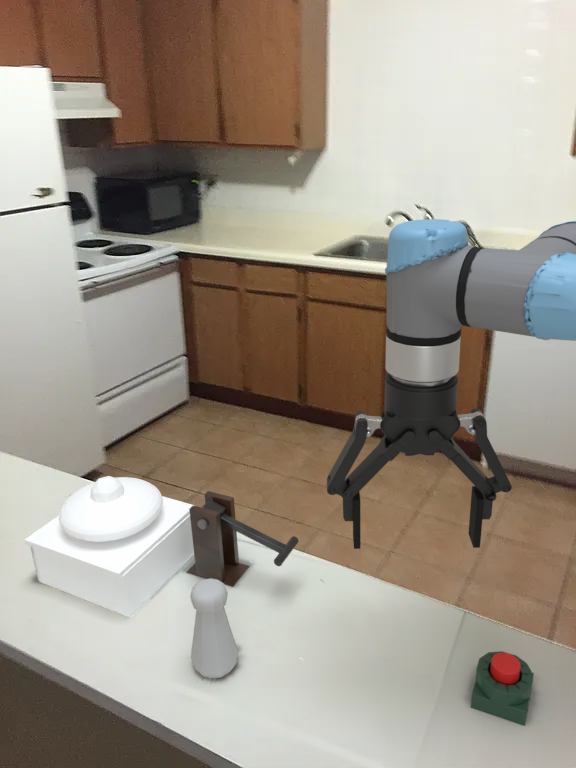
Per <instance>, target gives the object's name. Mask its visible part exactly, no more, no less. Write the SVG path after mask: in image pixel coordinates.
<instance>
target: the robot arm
mask: <svg viewBox="0 0 576 768" xmlns="http://www.w3.org/2000/svg"><path fill="white" fill-rule="evenodd" d="M387 242H388V244H387V255H386V267H385V269H384V273H385V275H386V325H385V359H384V360H385V364H384V365H385V366H384V369H385V371H386V374H385V375H384V407H383V408H384V409H383V412H382V414H381V415H380V416H378V415H376V416H375V415H367V413H366V412H365V410H364V411H363V410H358V411H357V412H356V413H355V415H354V424H353V430H352V431H351V433H350V435H349V437H348V439H347V440H346V442H345V444H344V446H343V447H342V449H341V451H340V452H339V455H338V456H337V458H336V461H335V462H334V464H333V466H332V468H331V469H330V471H329V473H328V475H327V477H326V492H327V494H328V495H330V496H336V495H338V496H340V497H341V498H342V519H343V520H344V522H352V540H353V549H354V550H357V549H358V550H361V494H360V493H361V490H362V489H363V488H364V487H366V485H367V484H368V483H369V482H370V481H371V480H372V479H373V478H375V476H376V475H377V474H378V473H379V472H380V471H381V470H382V469H383V468H384V467H385V466H386V465H387V464H388V463H389V462H392V461H394V460H395V459H396V457H397V456H398V455H400V453H401V454H404V456H405V457H413V456H417V455H423V456H435V454H437V453H439V452H441V453H443V455H444V456H445V457H446V459H448V460H449V461H451V462H452V463H453V464H454V465H455V466H456V467H457V468H458V469H459V471H460V472H461V473H462V474H463V475H464V476H465V477H466V478H467V479H468V480H469V482H471V483H472V484H473V485H472V486H471V493H470V494H471V496H470V508H469V522H468V536H469V540H470V542H471V545H472V548H474V549H480V548H481V542H482V541H481V540H482V530H483V520H490V519H491V518H492V516H493V515H492V513H493V503H494V501H496V499H497V494H498V493H500V492H503V493H509V492H511V491H512V488H513V486H512V484H511V482H510V479H509V477H508V476H507V473H506V472H505V469H504V468H503V466H502V464H501V461H500V459H499V458H498V456H497V453H496V451H495V449H494V447H493V445H492V443H491V441H490V439H489V436H488V424H487V419H486V418H485V416H484V414H483V412H482V410H481V409H480V408H478V407H477V408H476V407H475V408H473V409H472V410H470V412H469V413H462V414H458V412H457V407H458V406H457V405H458V404H457V403H458V389H459V377H458V376H457V374H458V373H459V370H460V355H461V338H462V337H461V336H462V326H463V327H468V328H475V329H476V328H477V329H482V330H489V331H493V332H494V331H496V332H501V333H508V334H514V335H520V336H527V337H534V338H536V339H537V340H538V339H539V340H544V341H551V340H557V341H568V342H569V341H572V342H576V220H571V221H566V222H562V223H558V224H554V225H552V226H550V227H549V228H548V229H546V230H543V232H542V233H540V235H539V236H537V237H536V238H534V239H533V240H531V241H530V242H529V243H528V244H526V245H525V246H523V247H522V248H520V249H503V248H487V247H480V246H479V247H478V246H477V245H469V242H470V241H469V239H468V230H467V227H466V225H464V224H463V223H462V222H460V221H455V220H449V219H440V218H425V219H424V218H423V219H413V220H406V221H403V222H401V223H398V224H396V225H395V226H394V227H393V228H392V229H391V230H390V232H389V235H388V241H387ZM460 428H464V429H465V431H466V433H467V434H469V435H472V436H474V438H475V440H476V443H477V445H478V447H479V449H480V451H481V453H482V455H483V457H484V459H485V460H486V464H487V465H488V467H489V469H490V471H491V473H492V475H493V476H491V477H488V476H487V475H486V474H485V473H484V472H483V470H481V468H479V466H478V465H477V464H476V463H475V462H474V461H473V460H472V459H471V458H470V457H469V455H467V454H466V452H465V451H464V450H463V449H462V448H461V447H460V446H459V445H458V444H457V442H456V441H455V440H454V438H453V437H454V436H455V435H456V433H457V432H458V431H459V430H460ZM378 429H379V430H381V432H382V433H383V434H384V436H383V437H382V438H381V439H380V440H379V442H378V445H376V446H375V448H373V450H372V451H371V452H370V453H369V454H368V455H367V456H366V457H365V458H364V459H363V460H362V461H361V462H360V463H359V464H358V465H357V466H356V468H354V469H353V471H351V469H352V467H353V466H354V464H355V463H356V460H357V458H358V456H359V455H360V453H361V451H362V449H363V448H364V447H365V446H364V445H365V443H366V440H367V438H370V437H372V435H373V434H374V433H375V431H377V430H378ZM350 471H351V473H349V472H350Z"/></svg>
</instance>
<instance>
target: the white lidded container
mask: <svg viewBox="0 0 576 768" xmlns="http://www.w3.org/2000/svg"><path fill="white" fill-rule="evenodd" d="M192 506H196V505H195V504H191V503H188V502H184V501H180V500H178V499H174V498H170V497H167V496H163V495H162V493H161V491H160V489H158V487H157V486H155V485H154V484H152V483H151V482H148V481H146V480H144V479H141V478H137V477H126V476H119V477H114V476H111V475H107V476H103V477H99V478H98V479H96V480H95V481H94V482H91V483H89V484H87V485H84V486H82V487H81V488H78V490H76V491H74V492H73V493H72V494H71V495H69V497H68V498H67V499H66V500H65V501H64V502H63V503H62V505H61V506H60V509H59V513H58V515H57V516H55V517H54V518H53V519H51V520H50V521H49V522H47V523H46V524H44V525H43V526H42V527H40V528H39V529H37V530H35V532H33V533H31V535H29V536H28V537H26V538H25V539H24V544H25V545H27V546H29V547H30V552H31V556H32V561H33V565H34V568H35V574H36V578H37V581H38V582H39V583H42V584H44V585H46V586H49V587H51V588H54V589H55V590H59V591H61V592H64V593H66V594H70V595H71V596H74V597H77V598H80V599H82V600H85V601H87V602H90V603H91V604H95V605H97V606H99V607H101V608H105V609H107V610H109V611H112V612H114V613H116V614H119V615H122V616H125V617H127V618H132V617H134V615H135V614H136V613H137V612H138V611H139V610H140V609H141V608H142V607H143V606H144V605H145V604H146V603H147V602H148V601H149V600H150V599H152V597H153V596H154V595H155V594H156V593H157V592H158V591H160V589H161V588H162V587H163V586H164V585H165V584H166V583H167V582H168V581H169V580H170V579H171V578H173V576H174V575H176V573H177V572H178V571H180V569H181V568H182V567H184V565H185V564H186V563H187V562H188V561H189V560H190V559H192V558H193V556H194V547H193V538H192V529H191V520H190V511H189V509H190V508H191V507H192Z"/></svg>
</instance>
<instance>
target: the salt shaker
mask: <svg viewBox="0 0 576 768" xmlns="http://www.w3.org/2000/svg"><path fill="white" fill-rule="evenodd" d="M227 601H228V589H227V587H226V585H225V584H224V583H222V582H221V581H219V580H217V579H212V578H210V579H205V578H203V579H202V580H200V581H198V582H196V584H194V585H193V586H192V588H191V591H190V602H191V604H192V607H193V609H194V610H195V617H194V618H195V619H194V626H193V635H192V644H191V652H190V659H191V663H192V665H193V667H194V670H195V671H197V672H198V673H199V674H200V675H201V676H202V677H203V678H209V679H218V678H220V679H222V678H223V677H224V676H226V675H228V674H230V673H231V672H232V670H233V669H235V667H236V665H237V661H238V657H239V649H238V645H237V643H236V640H235V636H234V634H233V631H232V628H231V625H230V622H229V619H228V615H227V612H226V608H225V606H226V604H227Z"/></svg>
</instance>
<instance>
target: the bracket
mask: <svg viewBox="0 0 576 768" xmlns="http://www.w3.org/2000/svg"><path fill="white" fill-rule="evenodd" d="M203 495H204V505H205V504H206V503H207V502H208V501H209V500H212V501H214V502H216V503H218V504H220V505H222V506H224V507H226V510H225V514H226V515H228V516H230V517H232V518H234V519H236V507H235V497H234V496H230V495H226V494H222V493H217V492H213V491H209V490H207V491H206V492H205V493H204V494H203ZM189 511H190V520H191V529H192V538H193V547H194V555H193V556H194V563H193V564H192V565H191V566H190V567H189V569H188V570H186V574H188V575H193V576H195V577H199V578H202V579H210V578H212V579H217V580H219V581H221V582H222V583H224V585H225V586H228V587H230V588H234V587H235V586H236V584H237V583H238V582H239V580H240V579H241V578H242V577H243V575H244V574H245V573H246V572H247V571H248V569H249V568H250V565H249V564H245V563H241V562H240V559H239V557H240V556H239V546H238V532H237V531H235V530H233V529H231V528H229V527H227V526H225V525H223V524H221V523H220V513H219V512H217V511H213V510H209V509H205V508H202V506H197V505H195V506H192V507H191V508H190V509H189Z"/></svg>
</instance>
